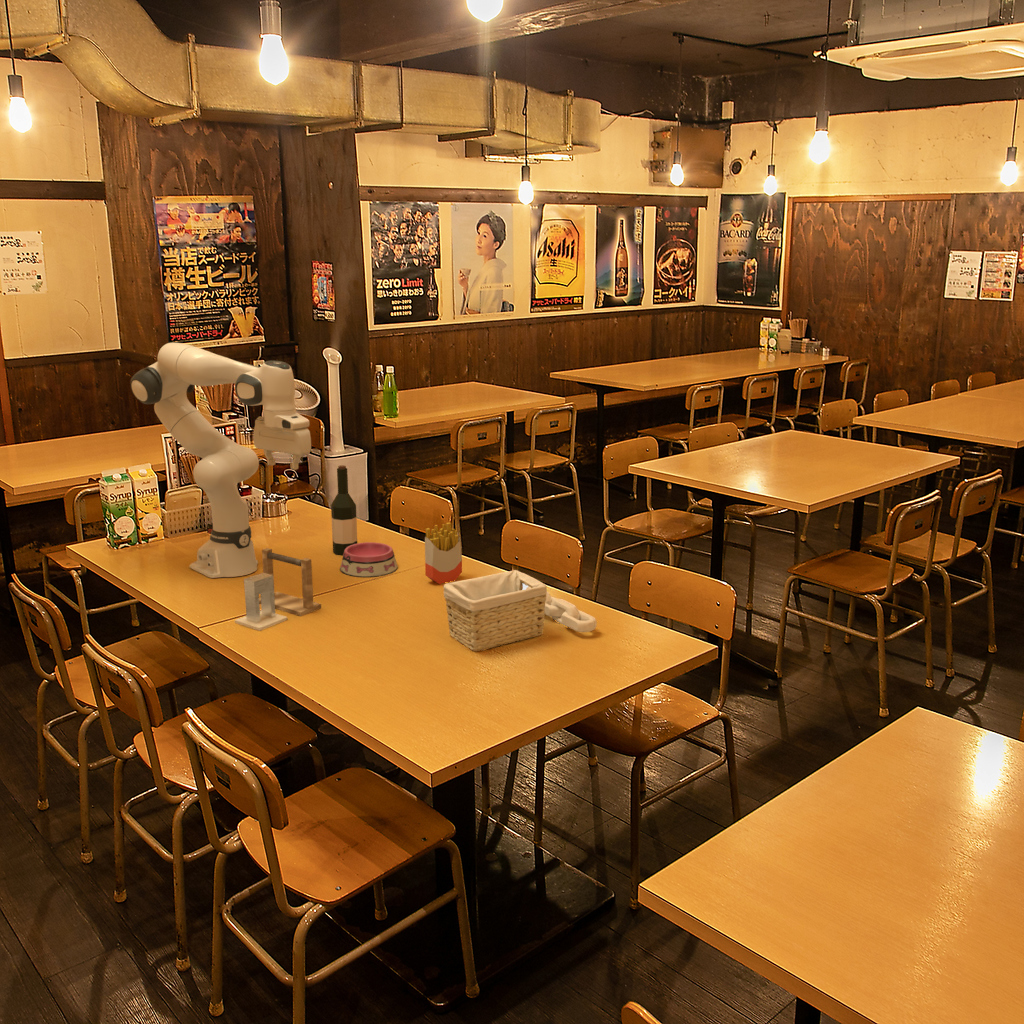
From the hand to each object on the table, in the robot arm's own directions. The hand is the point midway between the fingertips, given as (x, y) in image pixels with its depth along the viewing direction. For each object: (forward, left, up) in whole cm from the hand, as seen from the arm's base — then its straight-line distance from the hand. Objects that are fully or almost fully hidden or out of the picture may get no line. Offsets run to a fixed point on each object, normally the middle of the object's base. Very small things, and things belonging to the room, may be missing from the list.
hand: (282, 467), depth 277 cm
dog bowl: (+1, +33, -40) cm, 52 cm away
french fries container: (+29, +37, -39) cm, 61 cm away
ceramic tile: (+9, -19, -39) cm, 44 cm away
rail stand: (+6, -6, -39) cm, 40 cm away
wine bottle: (-17, +41, -39) cm, 59 cm away
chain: (+75, +30, -40) cm, 90 cm away
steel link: (+9, -19, -38) cm, 44 cm away
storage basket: (+67, +10, -40) cm, 79 cm away
